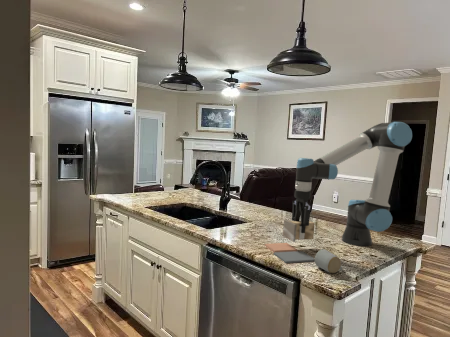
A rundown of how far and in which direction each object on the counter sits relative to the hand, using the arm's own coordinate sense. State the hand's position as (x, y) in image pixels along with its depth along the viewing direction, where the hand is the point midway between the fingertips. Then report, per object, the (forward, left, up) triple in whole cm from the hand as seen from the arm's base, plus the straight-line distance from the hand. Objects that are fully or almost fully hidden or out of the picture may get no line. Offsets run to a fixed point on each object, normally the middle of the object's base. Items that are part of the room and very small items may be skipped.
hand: (298, 237), depth 158 cm
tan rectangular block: (-1, 0, 0) cm, 1 cm away
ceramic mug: (+2, +27, -6) cm, 28 cm away
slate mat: (+9, +12, -5) cm, 16 cm away
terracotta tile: (+3, 0, -5) cm, 6 cm away
